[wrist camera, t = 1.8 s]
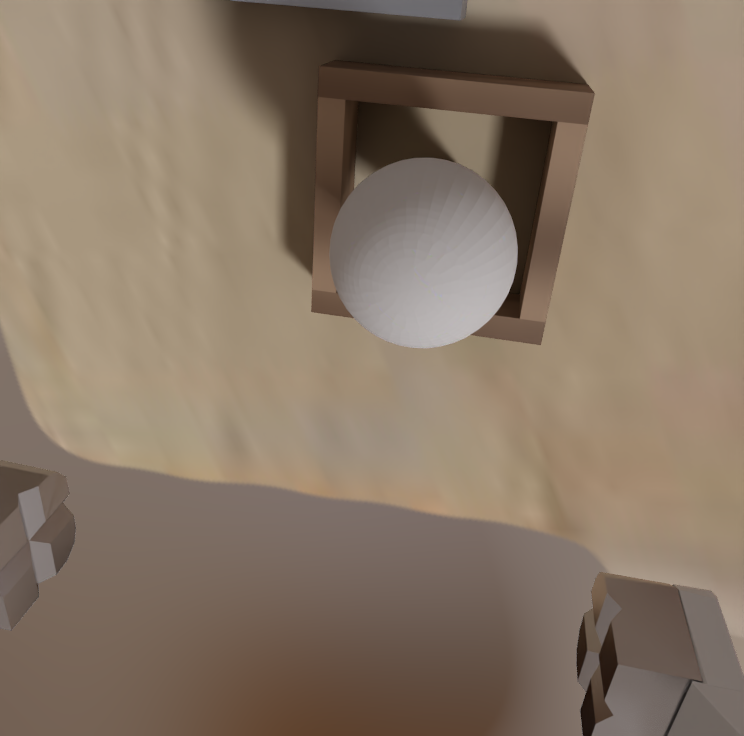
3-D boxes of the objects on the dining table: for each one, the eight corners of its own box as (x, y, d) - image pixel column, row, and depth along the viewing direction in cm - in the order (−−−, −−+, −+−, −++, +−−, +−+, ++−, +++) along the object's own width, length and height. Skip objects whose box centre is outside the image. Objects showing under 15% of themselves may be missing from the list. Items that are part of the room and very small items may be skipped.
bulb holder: (335, 60, 26) (318, 66, 24) (588, 84, 25) (594, 93, 23) (325, 289, 31) (311, 312, 29) (539, 319, 30) (540, 345, 27)
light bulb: (417, 91, 26) (367, 140, 18) (548, 171, 27) (562, 258, 18) (347, 220, 29) (274, 318, 20) (466, 291, 30) (444, 415, 21)
